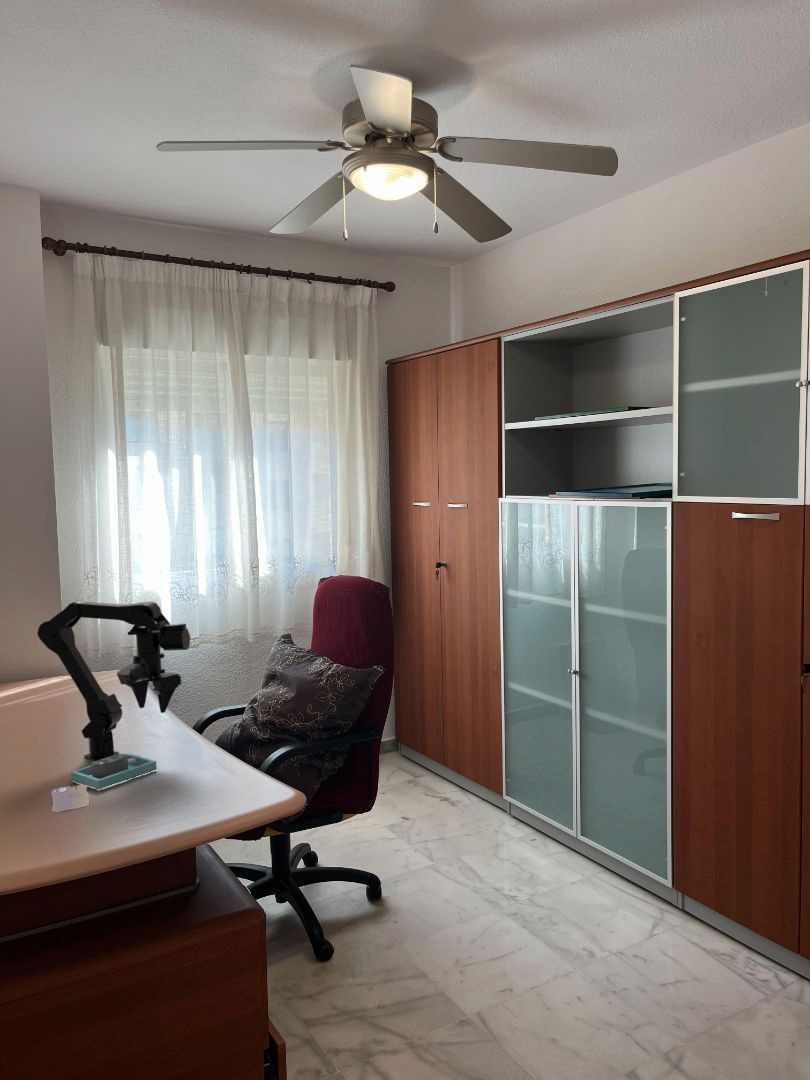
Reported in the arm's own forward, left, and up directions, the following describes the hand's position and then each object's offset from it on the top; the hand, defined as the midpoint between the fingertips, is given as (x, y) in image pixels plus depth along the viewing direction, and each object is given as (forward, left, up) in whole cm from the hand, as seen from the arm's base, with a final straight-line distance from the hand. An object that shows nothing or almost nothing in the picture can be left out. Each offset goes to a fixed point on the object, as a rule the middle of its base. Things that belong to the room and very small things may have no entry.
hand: (152, 710), depth 205 cm
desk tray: (+5, -15, -12) cm, 20 cm away
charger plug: (+5, -16, -12) cm, 20 cm away
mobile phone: (+9, -29, -13) cm, 32 cm away
